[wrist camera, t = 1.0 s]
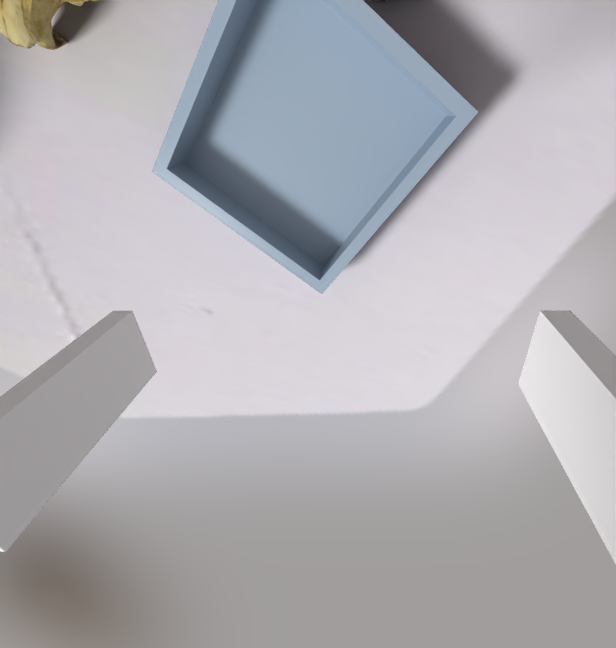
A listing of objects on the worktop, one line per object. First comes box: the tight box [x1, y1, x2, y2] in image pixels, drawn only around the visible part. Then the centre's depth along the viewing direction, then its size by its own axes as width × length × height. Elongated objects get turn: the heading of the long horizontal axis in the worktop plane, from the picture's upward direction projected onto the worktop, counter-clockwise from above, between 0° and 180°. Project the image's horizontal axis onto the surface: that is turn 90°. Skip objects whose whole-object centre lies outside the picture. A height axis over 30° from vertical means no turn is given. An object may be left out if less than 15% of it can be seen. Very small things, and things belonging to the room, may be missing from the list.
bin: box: [152, 0, 478, 294], centre depth 28 cm, size 18×18×4 cm
